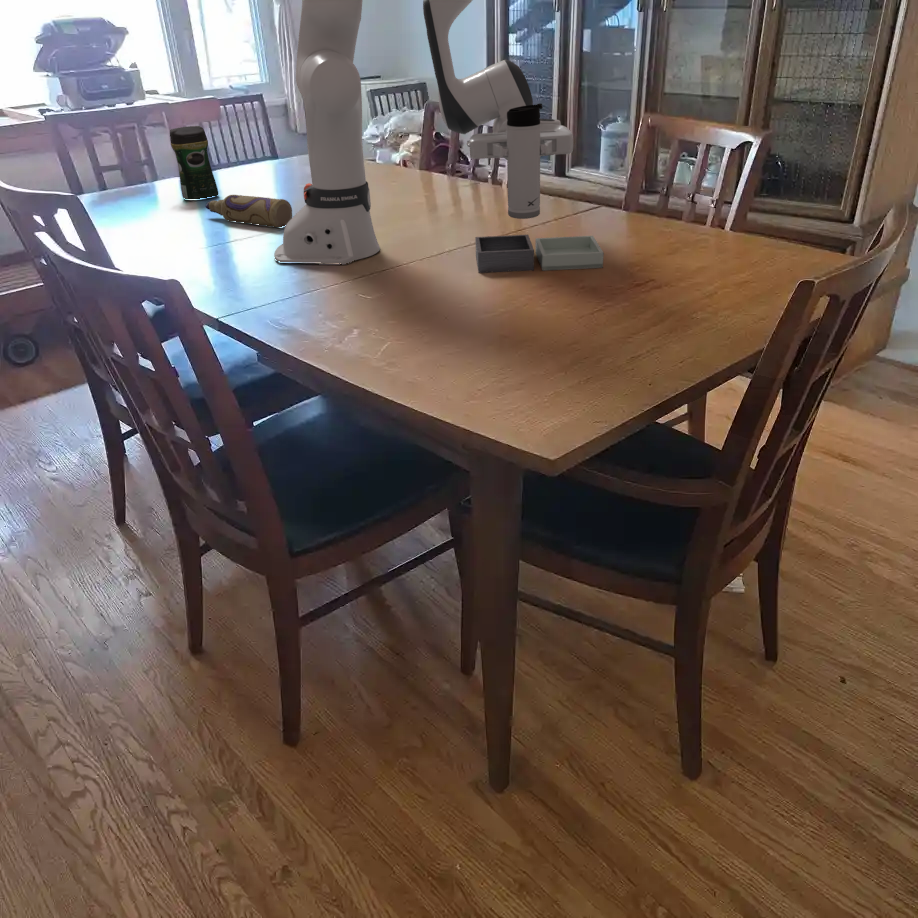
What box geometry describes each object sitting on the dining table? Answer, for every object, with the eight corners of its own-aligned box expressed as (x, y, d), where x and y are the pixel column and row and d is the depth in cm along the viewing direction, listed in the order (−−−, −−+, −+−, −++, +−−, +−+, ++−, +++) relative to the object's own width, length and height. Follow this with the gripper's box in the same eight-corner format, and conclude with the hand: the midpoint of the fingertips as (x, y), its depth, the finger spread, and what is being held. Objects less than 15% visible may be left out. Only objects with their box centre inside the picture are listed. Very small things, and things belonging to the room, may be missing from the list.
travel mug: (539, 219, 153) (540, 106, 142) (505, 218, 154) (503, 107, 143) (543, 210, 158) (544, 101, 147) (510, 210, 159) (509, 102, 149)
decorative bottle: (296, 224, 193) (292, 196, 190) (275, 232, 188) (270, 203, 185) (221, 213, 205) (216, 187, 202) (199, 220, 200) (193, 193, 196)
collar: (478, 272, 156) (478, 252, 154) (475, 256, 165) (475, 237, 163) (533, 270, 156) (534, 250, 154) (528, 253, 165) (528, 234, 163)
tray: (542, 270, 156) (542, 255, 154) (535, 252, 166) (535, 238, 164) (602, 267, 156) (603, 252, 154) (592, 249, 166) (592, 235, 164)
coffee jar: (214, 192, 226) (200, 122, 216) (222, 198, 220) (208, 126, 210) (179, 198, 222) (164, 127, 212) (186, 203, 216) (171, 130, 206)
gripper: (465, 124, 159) (468, 137, 147) (567, 119, 159) (578, 131, 147) (466, 157, 162) (469, 172, 151) (566, 152, 162) (577, 166, 151)
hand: (524, 152), depth 149 cm, fingers closed on travel mug, 6 cm apart
